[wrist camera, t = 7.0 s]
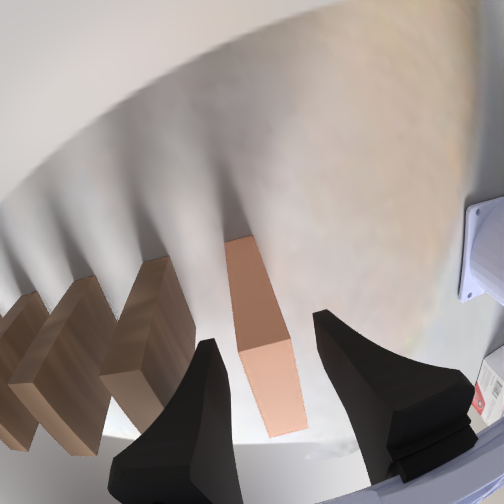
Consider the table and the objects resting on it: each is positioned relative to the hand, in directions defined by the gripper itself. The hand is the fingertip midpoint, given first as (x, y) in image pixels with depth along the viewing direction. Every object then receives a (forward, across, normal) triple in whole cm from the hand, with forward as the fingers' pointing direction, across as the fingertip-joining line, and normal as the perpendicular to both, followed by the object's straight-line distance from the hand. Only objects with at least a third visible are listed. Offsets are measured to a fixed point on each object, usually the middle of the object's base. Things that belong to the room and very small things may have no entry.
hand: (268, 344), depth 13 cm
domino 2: (+6, +10, 0) cm, 11 cm away
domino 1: (+6, +14, 0) cm, 16 cm away
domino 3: (+6, +5, 0) cm, 8 cm away
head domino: (+6, 0, 0) cm, 6 cm away
